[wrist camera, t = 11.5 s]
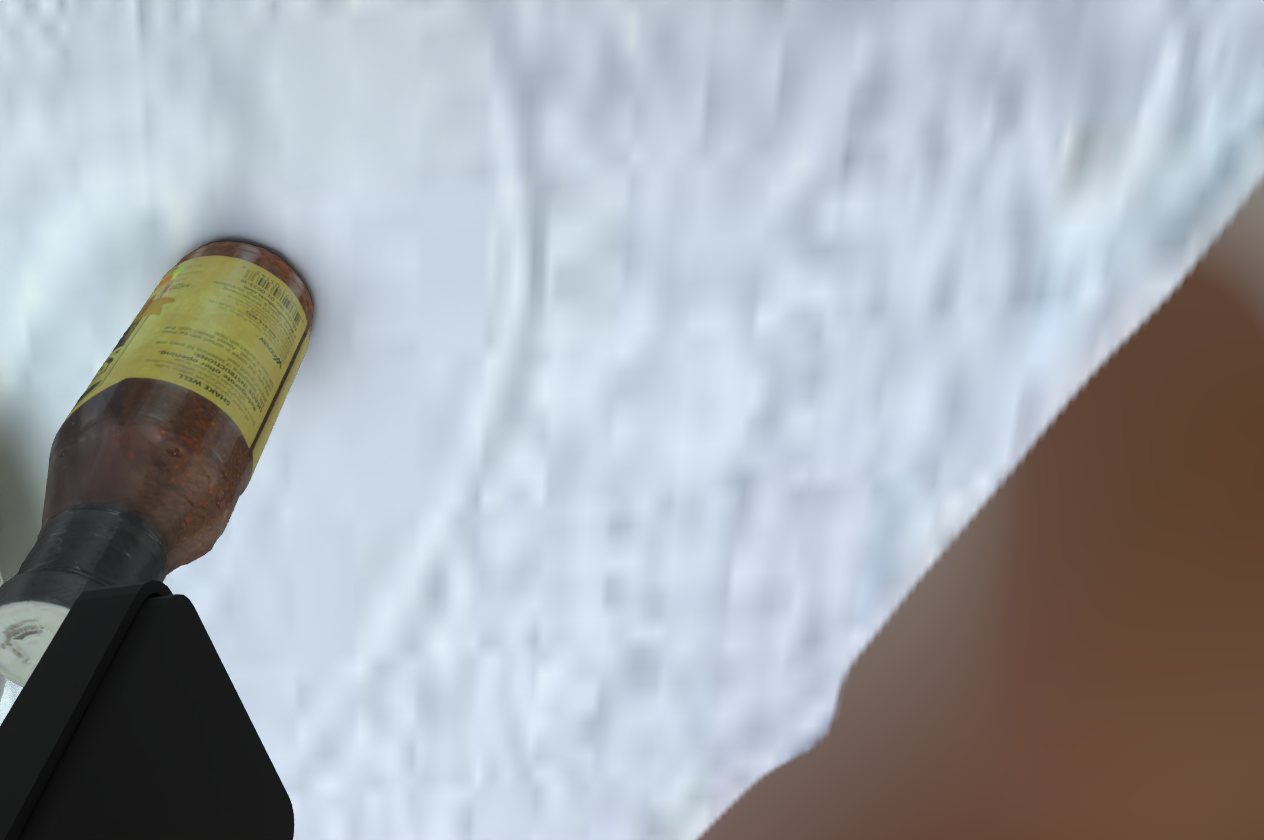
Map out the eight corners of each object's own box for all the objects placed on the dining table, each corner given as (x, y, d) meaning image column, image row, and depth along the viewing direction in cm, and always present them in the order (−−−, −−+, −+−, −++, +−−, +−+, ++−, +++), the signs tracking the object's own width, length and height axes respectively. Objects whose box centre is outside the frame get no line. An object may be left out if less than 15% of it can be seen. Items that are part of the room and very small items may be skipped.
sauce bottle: (158, 228, 47) (-106, 543, 30) (314, 239, 47) (136, 558, 31) (181, 367, 51) (-44, 717, 34) (326, 377, 51) (172, 729, 34)
